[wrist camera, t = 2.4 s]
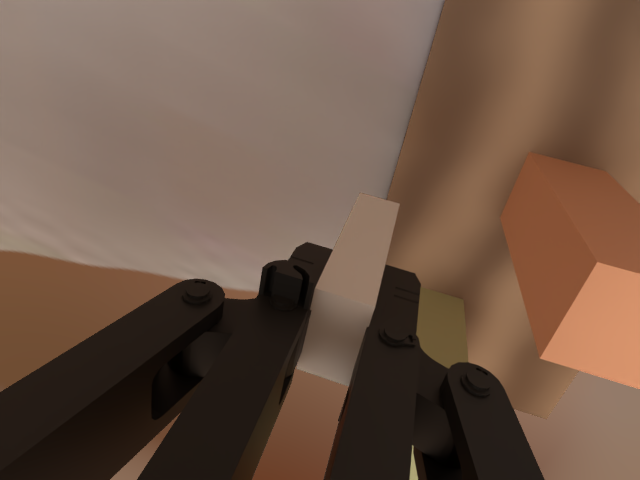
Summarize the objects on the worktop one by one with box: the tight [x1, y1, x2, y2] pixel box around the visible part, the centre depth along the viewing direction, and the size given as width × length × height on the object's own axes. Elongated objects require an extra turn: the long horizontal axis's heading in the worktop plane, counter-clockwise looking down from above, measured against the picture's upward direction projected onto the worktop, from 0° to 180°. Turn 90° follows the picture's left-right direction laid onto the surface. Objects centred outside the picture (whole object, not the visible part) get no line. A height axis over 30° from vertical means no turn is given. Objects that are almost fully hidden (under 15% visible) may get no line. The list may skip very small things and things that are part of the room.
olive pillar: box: [410, 287, 468, 480], centre depth 25 cm, size 4×4×12 cm
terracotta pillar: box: [500, 152, 640, 389], centre depth 19 cm, size 4×4×12 cm
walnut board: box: [386, 0, 640, 419], centre depth 25 cm, size 15×31×1 cm, turn 169°
